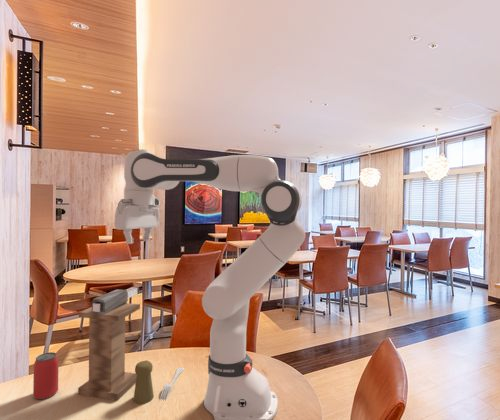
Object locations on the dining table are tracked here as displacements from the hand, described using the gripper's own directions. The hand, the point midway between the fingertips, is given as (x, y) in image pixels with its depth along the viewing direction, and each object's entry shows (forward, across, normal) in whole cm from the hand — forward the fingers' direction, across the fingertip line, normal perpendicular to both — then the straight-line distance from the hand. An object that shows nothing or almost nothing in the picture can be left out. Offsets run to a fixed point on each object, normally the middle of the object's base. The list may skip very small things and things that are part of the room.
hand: (138, 242), depth 102 cm
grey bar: (+21, +3, +10) cm, 23 cm away
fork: (+49, +7, -9) cm, 50 cm away
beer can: (+48, -9, +27) cm, 56 cm away
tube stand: (+48, 0, +10) cm, 49 cm away
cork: (+48, -3, -4) cm, 49 cm away
